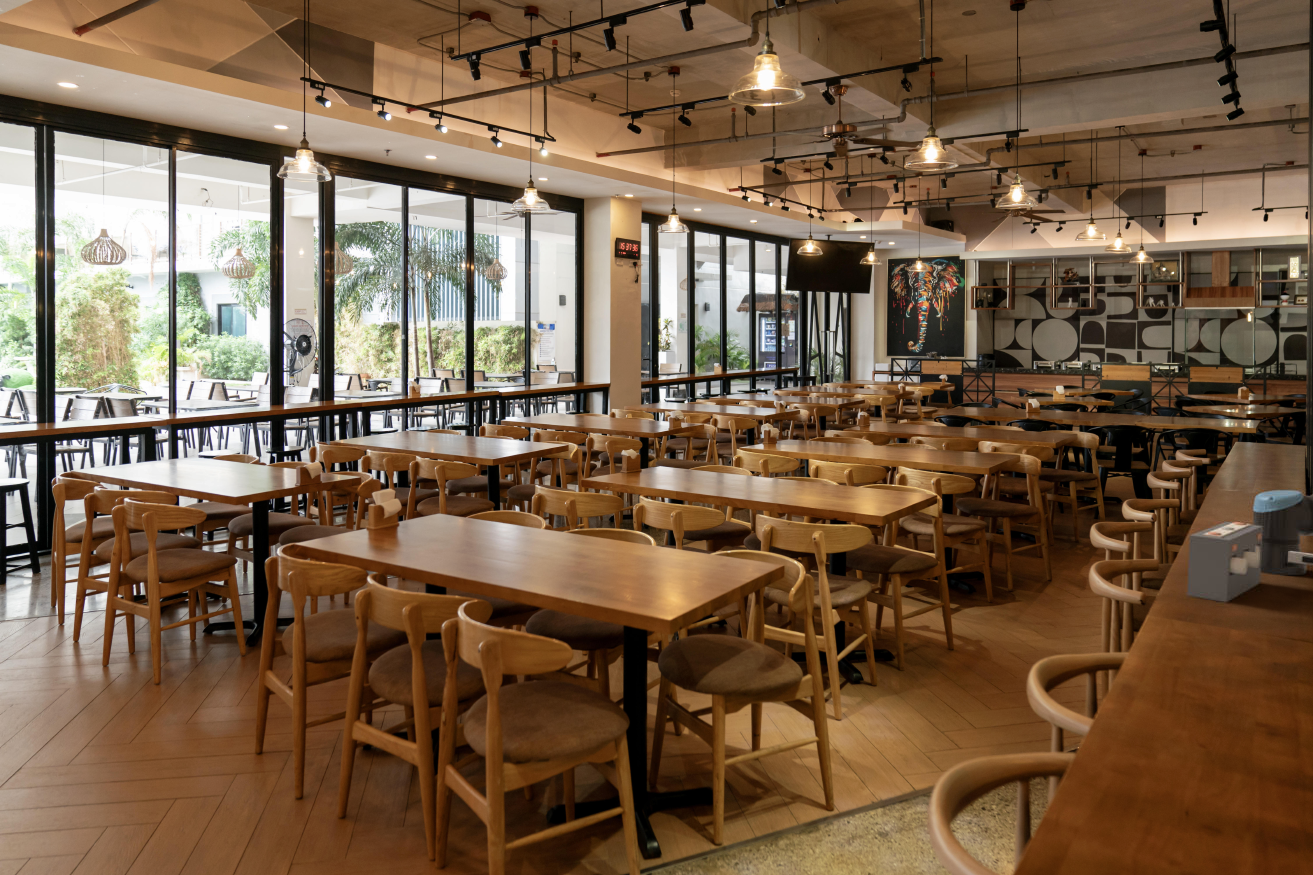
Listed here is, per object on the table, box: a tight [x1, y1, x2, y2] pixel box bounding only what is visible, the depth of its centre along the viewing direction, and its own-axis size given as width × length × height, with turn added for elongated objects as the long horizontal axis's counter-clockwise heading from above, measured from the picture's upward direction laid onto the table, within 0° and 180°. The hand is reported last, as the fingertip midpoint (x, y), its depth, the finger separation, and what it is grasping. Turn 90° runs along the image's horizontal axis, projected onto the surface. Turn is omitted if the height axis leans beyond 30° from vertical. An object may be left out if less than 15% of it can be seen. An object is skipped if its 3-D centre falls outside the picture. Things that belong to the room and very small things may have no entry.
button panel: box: [1186, 521, 1263, 603], centre depth 241 cm, size 30×9×17 cm, turn 132°
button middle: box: [1243, 551, 1260, 568], centre depth 238 cm, size 4×6×4 cm
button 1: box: [1230, 557, 1248, 575], centre depth 230 cm, size 4×6×4 cm
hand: (1288, 556), depth 239 cm, fingers closed
